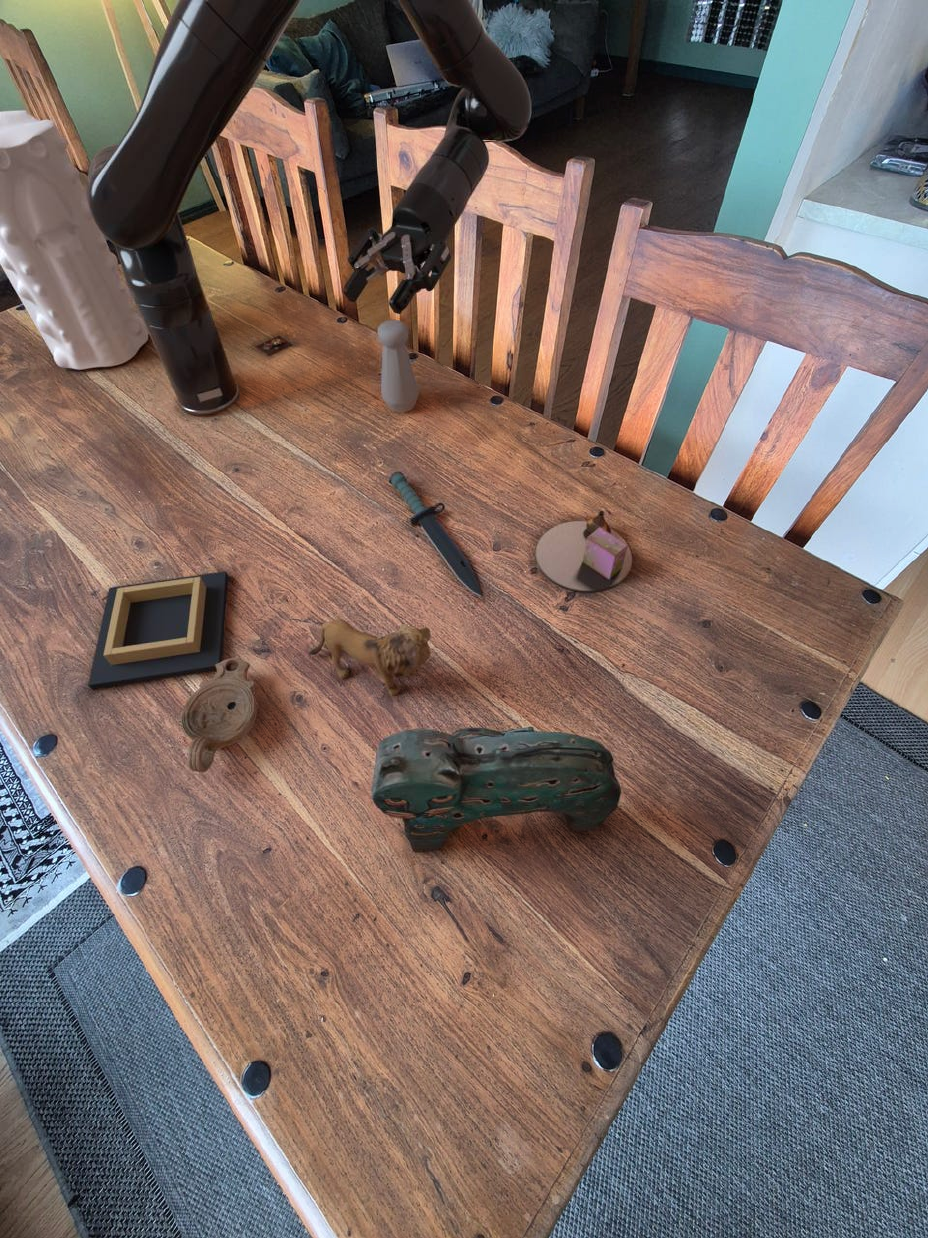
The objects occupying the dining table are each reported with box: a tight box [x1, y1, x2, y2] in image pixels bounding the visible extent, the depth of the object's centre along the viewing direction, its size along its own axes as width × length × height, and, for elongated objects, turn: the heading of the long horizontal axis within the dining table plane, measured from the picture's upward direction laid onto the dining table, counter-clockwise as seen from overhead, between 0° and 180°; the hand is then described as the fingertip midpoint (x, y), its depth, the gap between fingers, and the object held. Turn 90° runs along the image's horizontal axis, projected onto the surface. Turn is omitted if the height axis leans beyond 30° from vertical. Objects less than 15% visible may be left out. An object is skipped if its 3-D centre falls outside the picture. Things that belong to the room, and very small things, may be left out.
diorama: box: [254, 335, 294, 357], centre depth 110 cm, size 3×4×2 cm
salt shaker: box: [377, 319, 420, 414], centre depth 94 cm, size 6×6×13 cm
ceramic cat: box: [371, 726, 622, 853], centre depth 52 cm, size 20×6×20 cm, turn 95°
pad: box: [87, 570, 230, 691], centre depth 73 cm, size 14×14×3 cm
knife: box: [388, 470, 483, 597], centre depth 82 cm, size 23×2×5 cm
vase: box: [0, 109, 149, 371], centre depth 100 cm, size 17×16×32 cm
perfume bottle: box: [534, 510, 633, 594], centre depth 78 cm, size 12×12×4 cm
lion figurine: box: [308, 618, 432, 696], centre depth 67 cm, size 15×5×9 cm, turn 75°
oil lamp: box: [180, 657, 258, 773], centre depth 65 cm, size 13×8×5 cm, turn 174°
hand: (370, 303), depth 85 cm, fingers open, 8 cm apart
